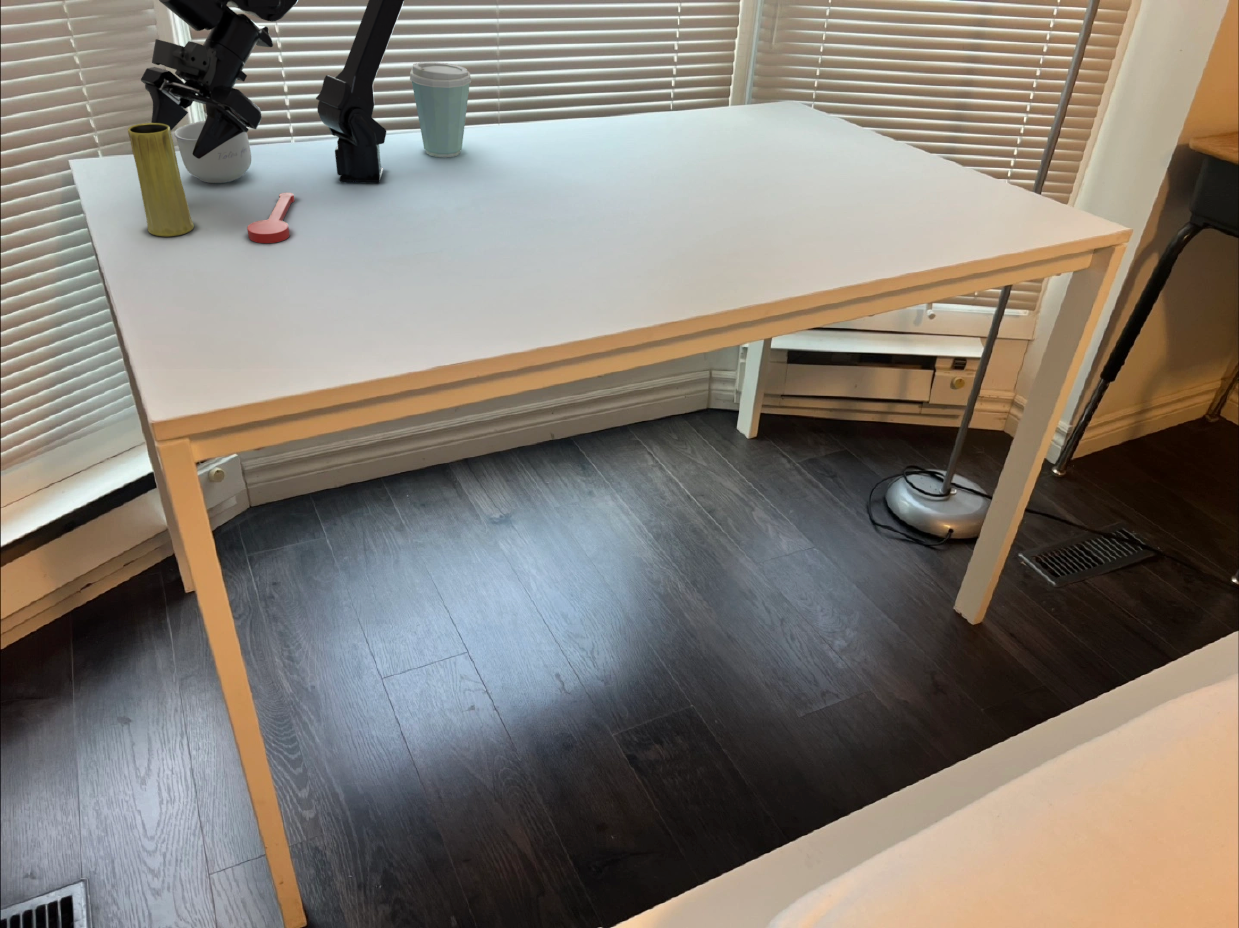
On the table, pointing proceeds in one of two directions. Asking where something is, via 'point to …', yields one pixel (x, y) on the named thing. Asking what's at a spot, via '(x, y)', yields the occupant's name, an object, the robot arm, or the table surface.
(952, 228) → the table surface
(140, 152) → the vase
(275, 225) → the spoon
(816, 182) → the table surface
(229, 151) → the teacup
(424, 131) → the disposable coffee cup
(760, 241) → the table surface
